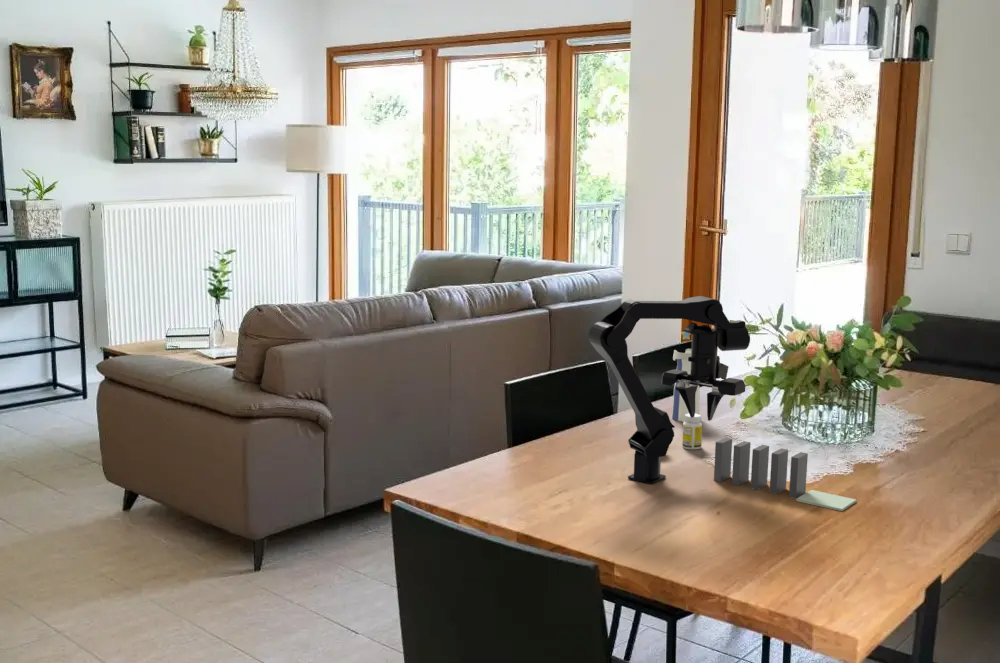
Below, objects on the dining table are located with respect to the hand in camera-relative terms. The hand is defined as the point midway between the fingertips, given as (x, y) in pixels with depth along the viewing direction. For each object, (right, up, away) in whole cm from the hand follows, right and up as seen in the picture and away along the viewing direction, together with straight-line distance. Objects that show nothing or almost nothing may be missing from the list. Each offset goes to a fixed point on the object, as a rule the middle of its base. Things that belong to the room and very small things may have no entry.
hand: (701, 418), depth 239 cm
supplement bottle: (+2, -9, +24) cm, 26 cm away
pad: (+24, -16, -17) cm, 33 cm away
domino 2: (+8, -14, -4) cm, 17 cm away
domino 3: (+12, -15, -7) cm, 20 cm away
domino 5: (+18, -16, -13) cm, 27 cm away
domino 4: (+15, -15, -10) cm, 23 cm away
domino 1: (+5, -14, -2) cm, 14 cm away
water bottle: (+6, -5, +53) cm, 53 cm away
